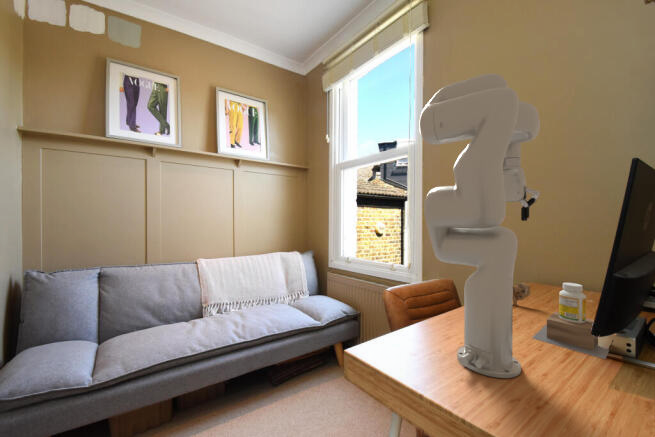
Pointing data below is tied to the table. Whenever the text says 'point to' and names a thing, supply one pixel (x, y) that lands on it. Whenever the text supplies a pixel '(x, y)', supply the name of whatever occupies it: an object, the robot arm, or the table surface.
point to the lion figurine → (520, 292)
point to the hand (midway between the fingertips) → (506, 220)
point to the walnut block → (571, 332)
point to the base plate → (595, 352)
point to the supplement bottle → (572, 303)
